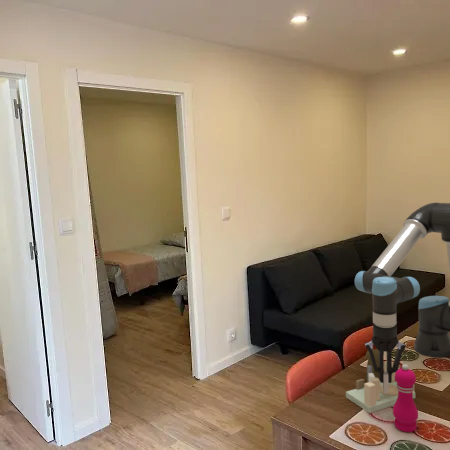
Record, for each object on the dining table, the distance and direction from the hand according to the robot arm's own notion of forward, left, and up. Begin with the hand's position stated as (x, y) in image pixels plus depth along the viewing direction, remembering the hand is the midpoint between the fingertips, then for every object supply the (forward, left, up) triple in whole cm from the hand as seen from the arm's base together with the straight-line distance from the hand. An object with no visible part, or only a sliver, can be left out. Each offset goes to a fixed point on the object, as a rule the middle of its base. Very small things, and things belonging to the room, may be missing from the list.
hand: (385, 391), depth 152 cm
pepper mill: (+5, +14, -4) cm, 15 cm away
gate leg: (+3, -3, -2) cm, 4 cm away
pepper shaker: (-9, -15, -4) cm, 18 cm away
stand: (-1, -3, -4) cm, 5 cm away
